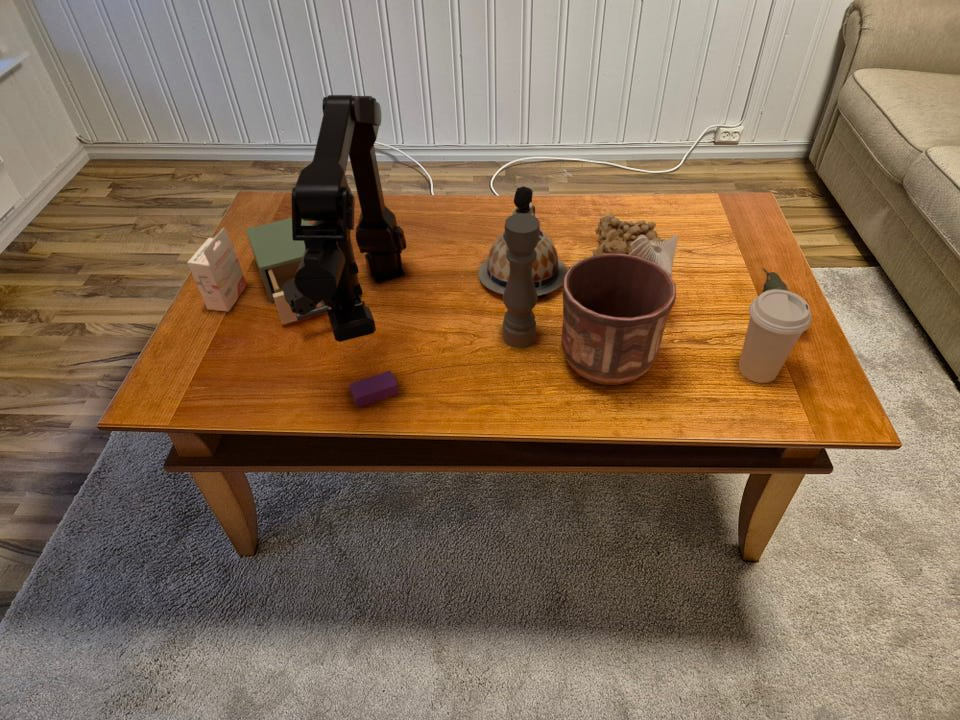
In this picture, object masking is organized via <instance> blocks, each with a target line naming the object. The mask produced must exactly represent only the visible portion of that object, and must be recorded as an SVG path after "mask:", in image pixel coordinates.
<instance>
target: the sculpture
mask: <svg viewBox="0 0 960 720" xmlns="http://www.w3.org/2000/svg"><path fill="white" fill-rule="evenodd" d="M761 269H762V270H763V272H764V273H765V274H766V280H765V282H764V283H763V289H762V292H761V293H763V292H765V291H768V290H774V289H779V290H786V291H790V290H789V288H788V285H787V284H786V283H785V282H784V281H783V280H782V278H781V276H780V275H779V274H778V273H776V272H774V271H770V272H768V271H767V270H766V268H765V267H761Z"/></svg>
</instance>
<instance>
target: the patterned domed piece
mask: <svg viewBox="0 0 960 720" xmlns="http://www.w3.org/2000/svg"><path fill="white" fill-rule="evenodd" d="M533 194H534V191H533V190H532V188H530V187H527V186H523V185H521V186H520V187H517V188H516V190H515V193H514V195H513V204H514V206H515V207H516V208H515V209H514V210H513V211H512V213H511V214H512V215H514V214H519V213H525V214H530V215H533V216H535V217H536V206H535V205H534V203H533ZM491 245H492V246H491V247H490V249H489V253H488V258H487V259H485V260H484V261H483V262H482V263H481V264H480V266H479V268H478V273H477V274H478V279H479V281H480V282H481V284H482V285H483V286H485V287H486V288H487V289H489V290H490V291H493V292H495V293H497V294H501V295H504V291H505V288H506V284H507V281H508V278H509V274H510V262H509V261H508V260H507V258H506V252H507V250H508V249H509V248H508V246H507V244H506V242H505V231H504V232H502V233H500V234H499V235H498V236H497V237H496V238H495V240H494V242H493V243H492V244H491ZM535 251H536V252H537V257H536V260H535V261H534V262H533V263H532V276H533V280H534V284H535V288H536V292H537V297H538V296H540V298H541V299H544V298H545V297H546V296H547V295H548V294H549V293H552V292H554V291H556V290H557V289H559V288H560V287H562V286H563V280H564V276H565V274H566V273H567V271H568V267H567V266H566V265H565V263H564V262H563V261H562V260H561V259H560V258H559V256H558V251H557V248H556V246H555V244H554V241H552V239H551V238H550V236H549V235H548V234H547V233H545V232H544V231H543V230H541V229H540V230H539V242H538V243H537V246H536V247H535Z"/></svg>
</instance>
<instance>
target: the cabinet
mask: <svg viewBox="0 0 960 720" xmlns="http://www.w3.org/2000/svg"><path fill="white" fill-rule="evenodd" d="M303 225H308V226H312V224H311V221H304V220H303V219H302V223H301V226H303ZM245 232H246V236H247V239H248V242H249V244H250V247H251V251H252V255H253V257H254V260H255V263H256V266H257V268H258V271H259V274H260V277H261V280H262V282H263V285H264V287H265V291H266V294H267V296H268V299H269V302H270V303H273V302H275V301H274V297H273V294H274V290H273V288H272V285H271V282H270V279H269V276H268V272H267V269H270V268H274V267H277V266H281V265H285V264H289V263H292V262H296V261H300V260H302V257H303V255H304V252H305V243H304V241H293V238H292V217H289V218H284V219H280V220H277V221H273V222H268V223H264V224H261V225H257V226H253V227H249V228H245Z"/></svg>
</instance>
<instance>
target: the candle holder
mask: <svg viewBox="0 0 960 720" xmlns="http://www.w3.org/2000/svg"><path fill="white" fill-rule="evenodd" d="M540 227H541V221H540V220H539V218H538V217H537V216H536V215H535V216H533V215H530V214H525V213H519V214H514V215H513V214H512V215H510V216H508V217H507V218H506V219H505V221H504V232H505V242H506V244H507V246H508V248H509V249H508V250H507V252H506V258H507V260H508V261H509V262H510V274H509V278H508V281H507V284H506V288H505V291H504V295H503V294H502V295H503V297H502V302H503V304H504V306H505V308H506V309H507V310H506V311H505V313H504V316H503V319H502V320H503V321H502V340H503V342H504V343H505V344H507V345H508V346H510V347H512V348H516V349H522V348H528V347H530V346H531V345H532V344H533V343H534V342H535V341H536V335H537V333H536V331H537V321H536V316H535V313H534V311H533V309H534V308H535V307H536V305H537V303H538V296H537V292H536V288H535V284H534V280H533V276H532V263H533V262H534V261H535V260H536V257H537V252H536V251H535V247H536V246H537V243H538V242H539V230H541V228H540Z"/></svg>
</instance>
